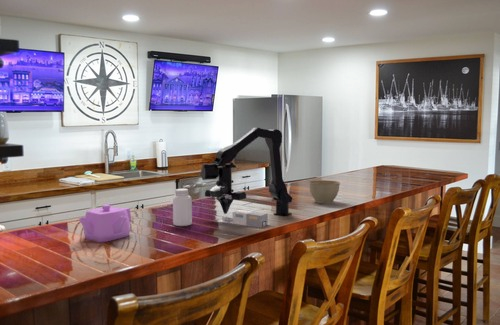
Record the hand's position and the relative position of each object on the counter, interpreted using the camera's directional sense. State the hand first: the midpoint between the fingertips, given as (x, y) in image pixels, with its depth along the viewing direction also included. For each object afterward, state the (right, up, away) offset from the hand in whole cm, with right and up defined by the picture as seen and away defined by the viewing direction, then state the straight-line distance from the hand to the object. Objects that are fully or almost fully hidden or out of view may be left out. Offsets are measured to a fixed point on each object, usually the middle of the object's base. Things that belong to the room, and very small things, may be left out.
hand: (225, 213), depth 214 cm
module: (+8, -3, -6) cm, 10 cm away
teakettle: (-44, -6, -28) cm, 52 cm away
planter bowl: (+50, +1, +43) cm, 66 cm away
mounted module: (+14, -4, -9) cm, 17 cm away
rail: (+8, -4, -6) cm, 10 cm away
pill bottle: (-18, -4, -7) cm, 19 cm away
